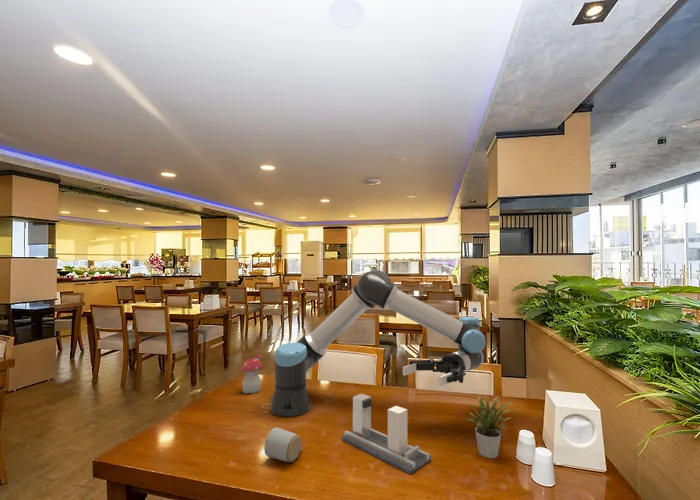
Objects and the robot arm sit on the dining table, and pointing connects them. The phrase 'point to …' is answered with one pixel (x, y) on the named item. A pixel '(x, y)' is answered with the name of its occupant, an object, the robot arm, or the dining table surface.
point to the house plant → (488, 428)
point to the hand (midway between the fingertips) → (420, 376)
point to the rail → (380, 439)
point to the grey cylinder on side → (282, 445)
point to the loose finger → (397, 430)
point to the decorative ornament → (251, 375)
